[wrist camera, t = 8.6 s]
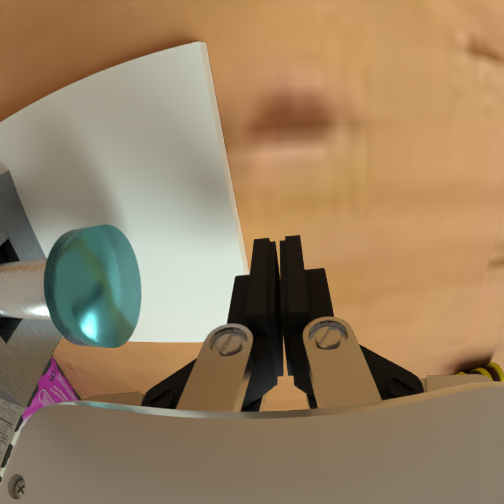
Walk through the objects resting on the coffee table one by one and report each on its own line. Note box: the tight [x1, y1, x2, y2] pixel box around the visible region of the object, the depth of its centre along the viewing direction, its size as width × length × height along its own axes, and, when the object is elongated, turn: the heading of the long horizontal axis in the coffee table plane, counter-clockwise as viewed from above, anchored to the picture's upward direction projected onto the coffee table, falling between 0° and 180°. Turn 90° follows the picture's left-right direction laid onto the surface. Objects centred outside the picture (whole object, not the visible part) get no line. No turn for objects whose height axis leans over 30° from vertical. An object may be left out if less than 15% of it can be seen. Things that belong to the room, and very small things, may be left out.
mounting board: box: [0, 41, 250, 342], centre depth 16 cm, size 26×16×1 cm, turn 99°
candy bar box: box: [0, 356, 81, 484], centre depth 21 cm, size 11×5×16 cm, turn 177°
